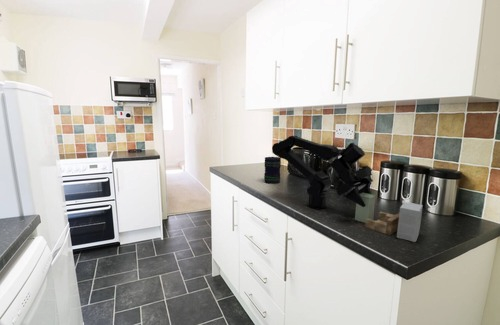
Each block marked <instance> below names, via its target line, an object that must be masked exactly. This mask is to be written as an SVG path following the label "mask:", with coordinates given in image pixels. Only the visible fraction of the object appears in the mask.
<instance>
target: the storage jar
mask: <svg viewBox="0 0 500 325" xmlns="http://www.w3.org/2000/svg"><path fill="white" fill-rule="evenodd" d="M281 159H282V158H280V157H278V156H267V157H264V174H263V177H264V179H263V180H264V184H268V185H278V184H280V183H281V165H282V162H281Z"/></svg>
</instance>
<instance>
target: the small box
mask: <svg viewBox="0 0 500 325" xmlns="http://www.w3.org/2000/svg"><path fill="white" fill-rule="evenodd" d="M398 213H399V222H398V230H397V231H396V232H397V233H396V238H398V239H402V240H404V241H405V240H406V241H410V242H412V243H416V242H417V239H418V237H419V234H420V229H421V223H422V215H423V204H418V203H414V202H413V203H412V202H409V201H408V202H407V201H403V202H402V205H401V206H400V207H399V212H398Z"/></svg>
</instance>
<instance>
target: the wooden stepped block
mask: <svg viewBox="0 0 500 325" xmlns="http://www.w3.org/2000/svg"><path fill="white" fill-rule="evenodd" d="M398 222H399V212H398V213H396V214H392V213H388V212H384V211H380V212H379V213H378V219H377V220H374V219H373V220H372V219H369V218H368V219H366V223H365V228H366V229H370V230H372V231H376V232H379V233H382V234H385V235H389V236H391V235H393V234H394V233H395V232H397V231H398Z"/></svg>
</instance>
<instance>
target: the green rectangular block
mask: <svg viewBox="0 0 500 325" xmlns="http://www.w3.org/2000/svg"><path fill="white" fill-rule="evenodd" d="M359 195H360V196H361V198H362V200H363V201H364V203H365V205H366V206H365V207H362V206H360V205H359V204H357V203H355V215H354V220H355V221H358V222H362V223H365V224H366V219H368V218H369V219H372V220H374V217H375V215H374V214H375V204H376V203H375V202H376V195H375V194H372V193H371V194H367V193H361V194H359Z"/></svg>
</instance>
